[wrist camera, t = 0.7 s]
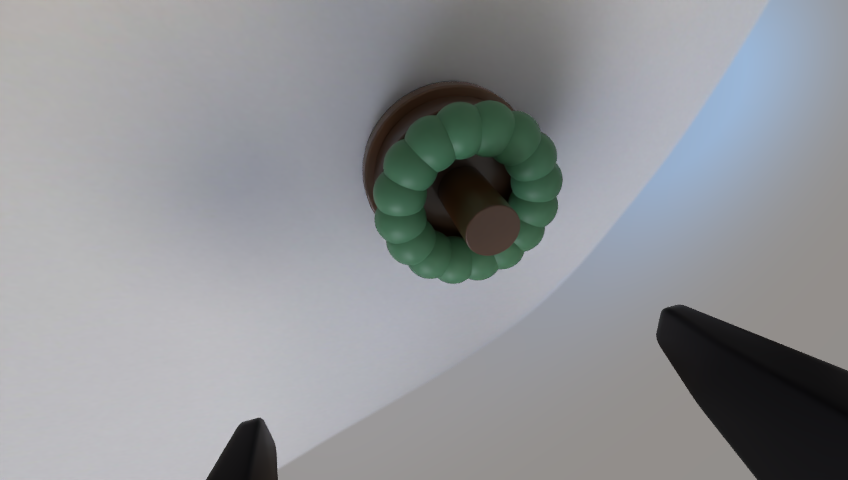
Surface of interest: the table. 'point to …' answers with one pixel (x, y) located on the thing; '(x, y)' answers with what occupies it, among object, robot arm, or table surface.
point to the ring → (435, 151)
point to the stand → (451, 173)
